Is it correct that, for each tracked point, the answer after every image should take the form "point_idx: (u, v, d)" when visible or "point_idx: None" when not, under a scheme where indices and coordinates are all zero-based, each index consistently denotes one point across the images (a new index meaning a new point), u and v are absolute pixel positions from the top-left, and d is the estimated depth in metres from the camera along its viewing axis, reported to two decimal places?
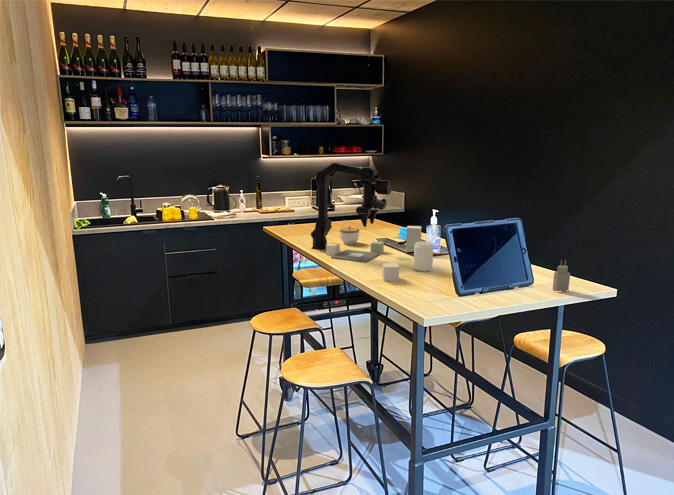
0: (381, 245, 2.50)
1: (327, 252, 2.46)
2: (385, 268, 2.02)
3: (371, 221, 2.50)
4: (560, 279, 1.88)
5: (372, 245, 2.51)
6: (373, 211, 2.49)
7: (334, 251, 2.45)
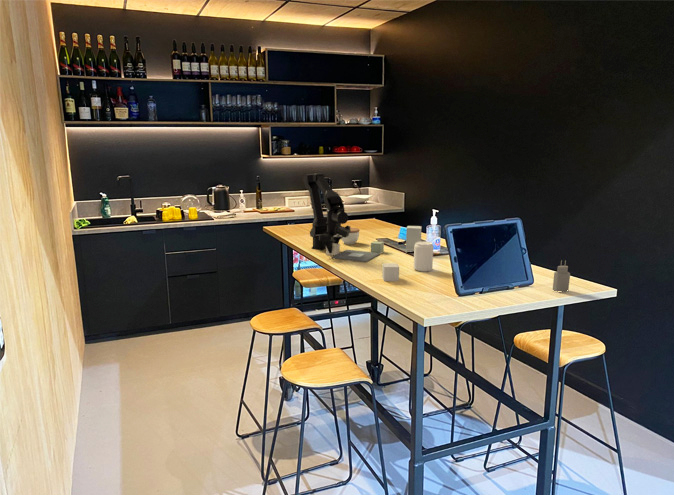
0: (381, 245, 2.50)
1: (327, 252, 2.46)
2: (385, 268, 2.02)
3: None
4: (560, 279, 1.88)
5: (372, 245, 2.51)
6: (336, 238, 2.49)
7: (334, 251, 2.45)
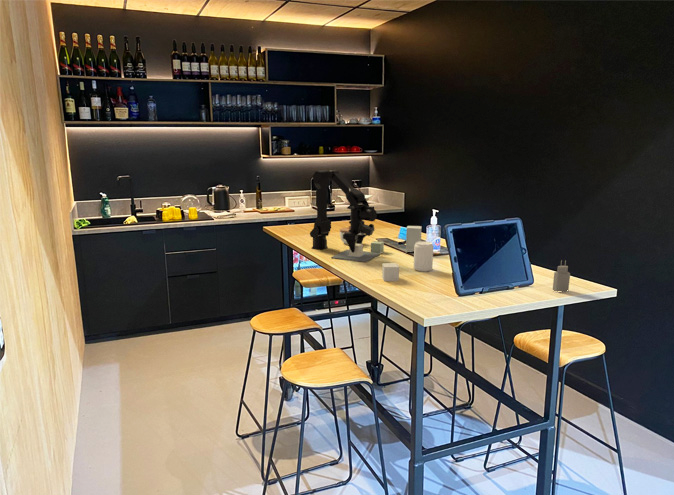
0: (381, 245, 2.50)
1: (350, 252, 2.42)
2: (385, 268, 2.02)
3: None
4: (560, 279, 1.88)
5: (372, 245, 2.51)
6: (360, 236, 2.45)
7: (358, 251, 2.40)
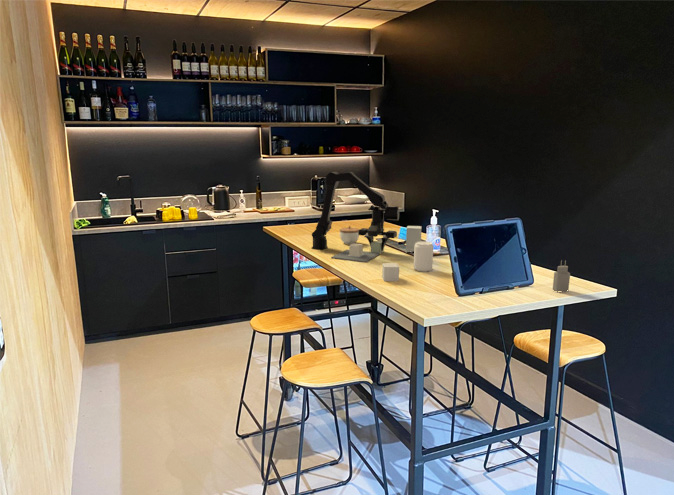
0: (381, 245, 2.50)
1: (350, 252, 2.42)
2: (385, 268, 2.02)
3: None
4: (560, 279, 1.88)
5: (372, 245, 2.51)
6: None
7: (358, 251, 2.40)
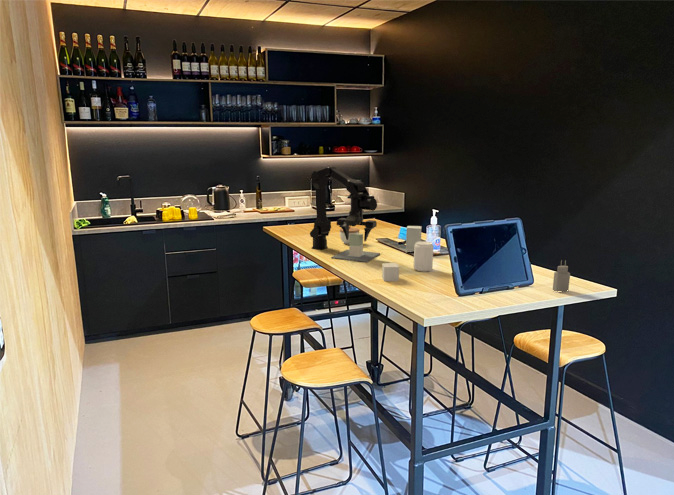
0: (360, 237, 2.40)
1: (350, 252, 2.42)
2: (385, 268, 2.02)
3: None
4: (560, 279, 1.88)
5: (351, 237, 2.40)
6: None
7: (358, 251, 2.40)
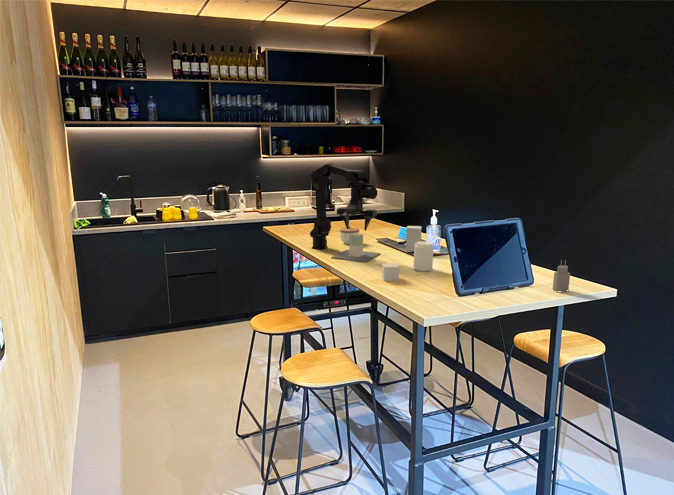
0: (360, 237, 2.40)
1: (350, 252, 2.42)
2: (385, 268, 2.02)
3: None
4: (560, 279, 1.88)
5: (351, 237, 2.40)
6: None
7: (358, 251, 2.40)
